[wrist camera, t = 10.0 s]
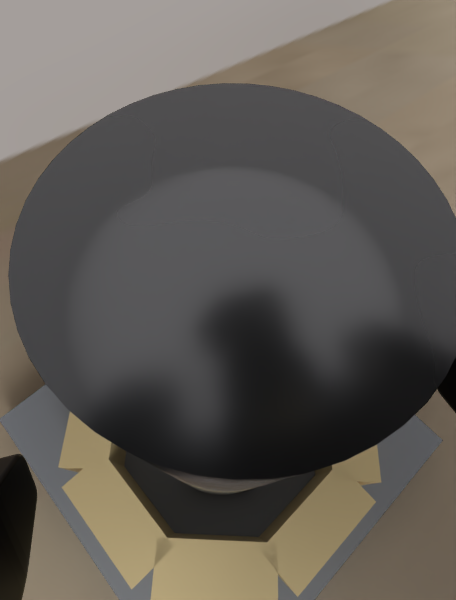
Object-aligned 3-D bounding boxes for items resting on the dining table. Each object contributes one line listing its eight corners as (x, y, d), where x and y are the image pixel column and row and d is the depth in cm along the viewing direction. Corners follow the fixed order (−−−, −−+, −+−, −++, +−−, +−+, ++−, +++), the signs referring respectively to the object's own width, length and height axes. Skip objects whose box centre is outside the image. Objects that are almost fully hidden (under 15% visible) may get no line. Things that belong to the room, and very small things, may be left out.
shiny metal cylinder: (303, 435, 16) (557, 250, 4) (217, 524, 14) (231, 631, 3) (225, 353, 17) (247, 36, 5) (139, 427, 16) (-78, 219, 4)
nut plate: (430, 443, 17) (480, 429, 14) (208, 716, 13) (206, 784, 10) (229, 256, 21) (232, 210, 17) (10, 424, 17) (-37, 404, 14)
